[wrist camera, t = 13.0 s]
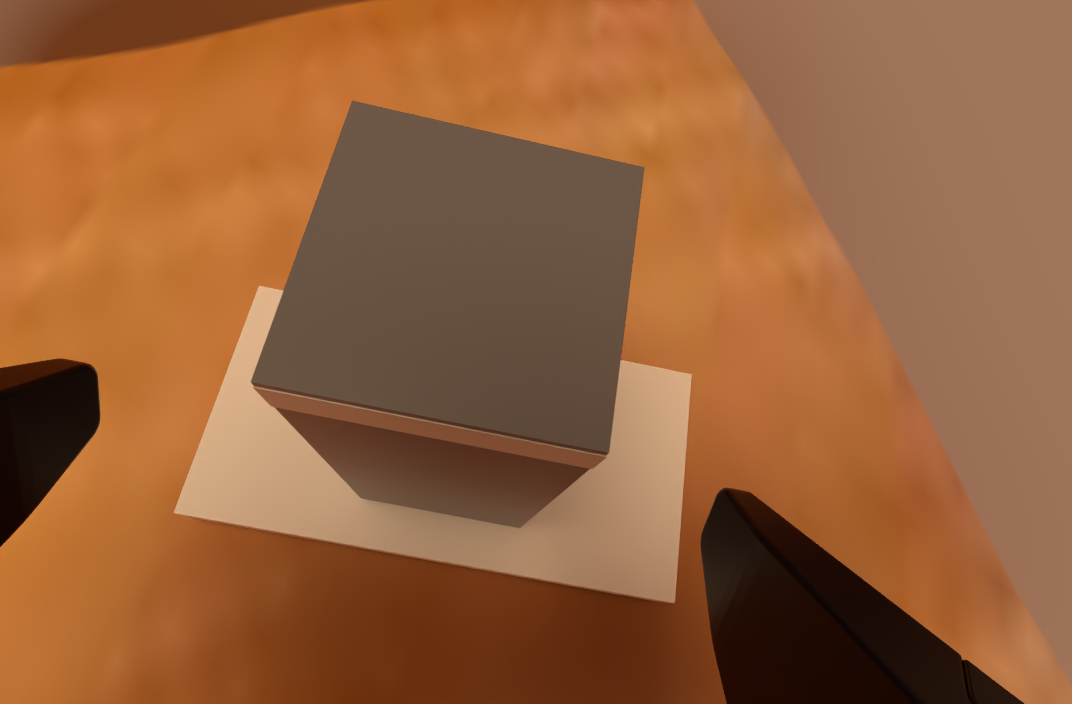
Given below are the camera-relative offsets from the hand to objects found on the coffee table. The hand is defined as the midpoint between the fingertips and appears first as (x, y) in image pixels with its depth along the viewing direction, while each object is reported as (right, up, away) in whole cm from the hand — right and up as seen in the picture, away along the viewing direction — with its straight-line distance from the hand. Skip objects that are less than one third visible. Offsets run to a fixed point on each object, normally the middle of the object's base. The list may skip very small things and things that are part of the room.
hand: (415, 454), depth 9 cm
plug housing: (-1, -1, +12) cm, 12 cm away
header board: (-1, -2, +14) cm, 14 cm away
